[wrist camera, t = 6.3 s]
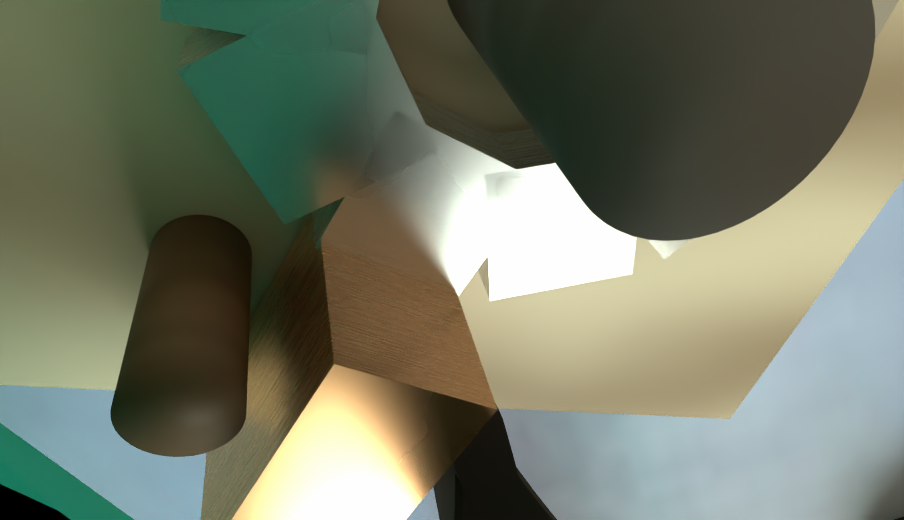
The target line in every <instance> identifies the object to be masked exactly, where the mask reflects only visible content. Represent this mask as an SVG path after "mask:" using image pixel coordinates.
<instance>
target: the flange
mask: <svg viewBox="0 0 904 520" xmlns="http://www.w3.org/2000/svg"><path fill="white" fill-rule="evenodd" d="M898 1H899V0H872V3H873V9H874V15H875V41H876V39H877V37H878V36H879V34H880V32H881V30H882V29H883V27H884V25H885V24H886V22H887V20H888V18H889V17H890V15H891V13H892V12H893V10H894V8H895V6H896V5H897V3H898ZM378 4H379V0H161V8H160V20H161V21H167V22H173V23H179V24H184V25H190V26H196V27H202V28H204V29H202V30H200V31H198V32H196V33H194V34H192V35H190V36H188V37H186V39H185V43H184V46H183V49H182V53H181V56H180V60H179V63H178V66H177V70H176V71H177V72H178V73H179V75H180V76H181V78H182V79H183V81H184V82H185V83H186V85H187V86H188V88H189V89H190V91H191V92H192V93H193V95H194V96H195V98H196V99H197V101H198V102H199V103H200V105H201V106H202V108H203V109H204V111H205V112H206V113H207V115H208V116H209V118H210V119H211V121H212V122H213V123H214V125H215V126H216V128H217V129H218V131H219V132H220V133H221V135H222V136H223V138H224V139H225V141H226V142H227V143H228V145H229V146H230V148H231V149H232V151H233V152H234V153H235V155H236V156H237V158H238V159H239V161H240V162H241V163H242V165H243V166H244V168H245V169H246V171H247V172H248V173H249V175H250V176H251V178H252V179H253V181H254V182H255V183H256V185H257V186H258V188H259V189H260V191H261V192H262V193H263V195H264V196H265V198H266V199H267V201H268V202H269V203H270V205H271V206H272V208H273V209H274V211H275V212H276V213H277V215H278V216H279V218H280V219H281V221H282V222H283V223H284V225H285V224H287V223H289V222H291V221H294V220H296V219H298V218H300V217H302V216H304V215H306V214H309V213H310V215H309V216H308V218H307V220H306V222H305V223H304V225H303V227H302V229H301V230H300V232H299V234H298V236H297V238H296V239H295V241H294V243H293V245H292V246H291V248H290V250H289V252H288V254H287V255H286V257H285V259H284V261H283V262H282V264H281V266H280V268H279V270H278V271H277V273H276V275H275V277H274V278H273V280H272V282H271V284H270V286H269V287H268V289H267V291H266V293H265V294H264V296H263V298H262V300H261V301H260V303H259V305H258V307H257V309H256V310H255V312H254V314H253V316H252V317H251V319H250V327H249V356H248V384H247V412H246V419H245V423H244V425H243V427H242V429H241V430H240V432H239V433H238V434H237V435H236V436H235V437H234V438H233V439H232V440H230V441H229V442H228V443H226V444H225V445H223V446H221V447H219V448H217V449H215V450H212V451H210V452H207V456H206V467H205V478H204V489H203V500H202V511H201V520H406V518H407V517H408V516H409V515H410V514H411V512H412V511H413V510H414V509H415V508H416V506H417V505H418V504H419V503H420V502H421V500H422V499H423V498H424V497H425V496H426V495H427V493H428V492H429V491H430V490H431V489H432V487H433V486H434V485H435V484H436V483H437V481H438V480H439V479H440V478H441V477H442V475H443V474H444V473H445V472H446V471H447V469H448V468H449V467H450V466H451V465H452V463H453V462H454V461H455V460H456V459H457V458H458V456H459V455H460V454H461V453H462V452H463V450H464V449H465V448H466V447H467V446H468V444H469V443H470V442H471V441H472V440H473V438H474V437H475V436H476V435H477V434H478V432H479V431H480V430H481V429H482V428H483V426H484V425H485V424H486V423H487V422H488V421H489V419H490V418H491V417H492V416H493V415H494V413H495V412H496V411H497V407H496V404H495V401H494V398H493V395H492V392H491V390H490V387H489V384H488V381H487V378H486V375H485V372H484V369H483V367H482V364H481V361H480V358H479V355H478V352H477V349H476V346H475V344H474V341H473V338H472V335H471V332H470V329H469V326H468V323H467V321H466V318H465V315H464V312H463V309H462V306H461V303H460V300H459V297H458V296H459V294H460V293H461V292H462V290H463V289H464V287H465V286H466V285H467V283H468V282H469V281H470V279H471V278H472V276H473V275H474V274H475V272H476V271H477V270H478V272H479V275H480V277H481V280H482V282H483V285H484V287H485V290H486V292H487V295H488V297H489V300H490V301H492V300H497V299H502V298H507V297H513V296H518V295H523V294H528V293H534V292H539V291H544V290H549V289H555V288H560V287H565V286H570V285H576V284H581V283H586V282H591V281H597V280H602V279H607V278H612V277H618V276H623V275H628V274H632V272H633V264H634V256H635V247H636V239H637V237H634V236H631V235H628V234H626V233H623V232H620V231H618V230H616V229H614V228H612V227H611V226H609V225H607V224H606V223H604V222H603V221H602V220H600V219H599V218H598V217H597V216H595V215H594V214H593V213H592V212H591V211H590V210H589V208H588V207H587V206H586V205H585V204H584V203H583V201H582V200H581V199H580V197H579V196H578V194H577V193H576V192H575V190H574V189H573V187H572V186H571V184H570V183H569V182H568V180H567V179H566V177H565V176H564V174H563V173H562V172H561V170H560V169H559V167H558V166H557V164H556V163H555V162H554V160H553V159H552V157H551V156H550V154H549V153H548V152H547V150H546V149H545V147H544V146H543V144H542V143H541V142H540V140H539V139H538V137H537V136H536V134H535V133H534V132H533V130H532V129H531V128H526V129H520V130H513V131H507V132H501V133H493V132H491V131H489V130H487V129H485V128H483V127H481V126H480V125H478V124H476V123H474V122H472V121H470V120H468V119H466V118H464V117H462V116H460V115H458V114H456V113H454V112H452V111H450V110H448V109H446V108H444V107H442V106H441V105H439V104H437V103H435V102H433V101H431V100H429V99H427V98H425V97H423V96H421V95H419V94H417V93H415V92H413V91H411V89H410V87H409V85H408V83H407V80H406V78H405V76H404V74H403V72H402V70H401V68H400V65H399V63H398V61H397V59H396V57H395V55H394V53H393V50H392V48H391V46H390V44H389V42H388V40H387V38H386V35H385V33H384V31H383V29H382V27H381V25H380V23H379V20H378V18H377V16H376V15H377V9H378ZM690 240H691V239H686V240H676V241H659V240H649V242H650V243H651V244H652V245H653V246H654V248H655V249H656V250H657V251H658V252H659V254H660V255H661V256H662V257H663V258H664V259H666V258H667V257H668V256H670V255H671V254H672V253H674V252H675V251H677V250H678V249H679V248H681V247H682V246H683V245H685V244H686V243H687V242H689V241H690Z"/></svg>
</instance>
